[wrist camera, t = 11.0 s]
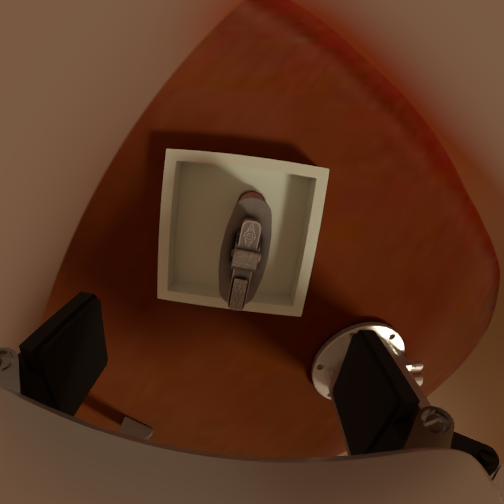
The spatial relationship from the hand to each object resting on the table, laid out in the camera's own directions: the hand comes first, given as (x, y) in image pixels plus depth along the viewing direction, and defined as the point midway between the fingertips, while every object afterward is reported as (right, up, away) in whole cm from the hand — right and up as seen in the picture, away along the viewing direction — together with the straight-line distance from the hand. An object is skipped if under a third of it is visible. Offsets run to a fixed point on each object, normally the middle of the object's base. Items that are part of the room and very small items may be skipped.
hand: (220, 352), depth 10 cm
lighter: (0, +6, +18) cm, 19 cm away
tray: (0, +6, +19) cm, 20 cm away
